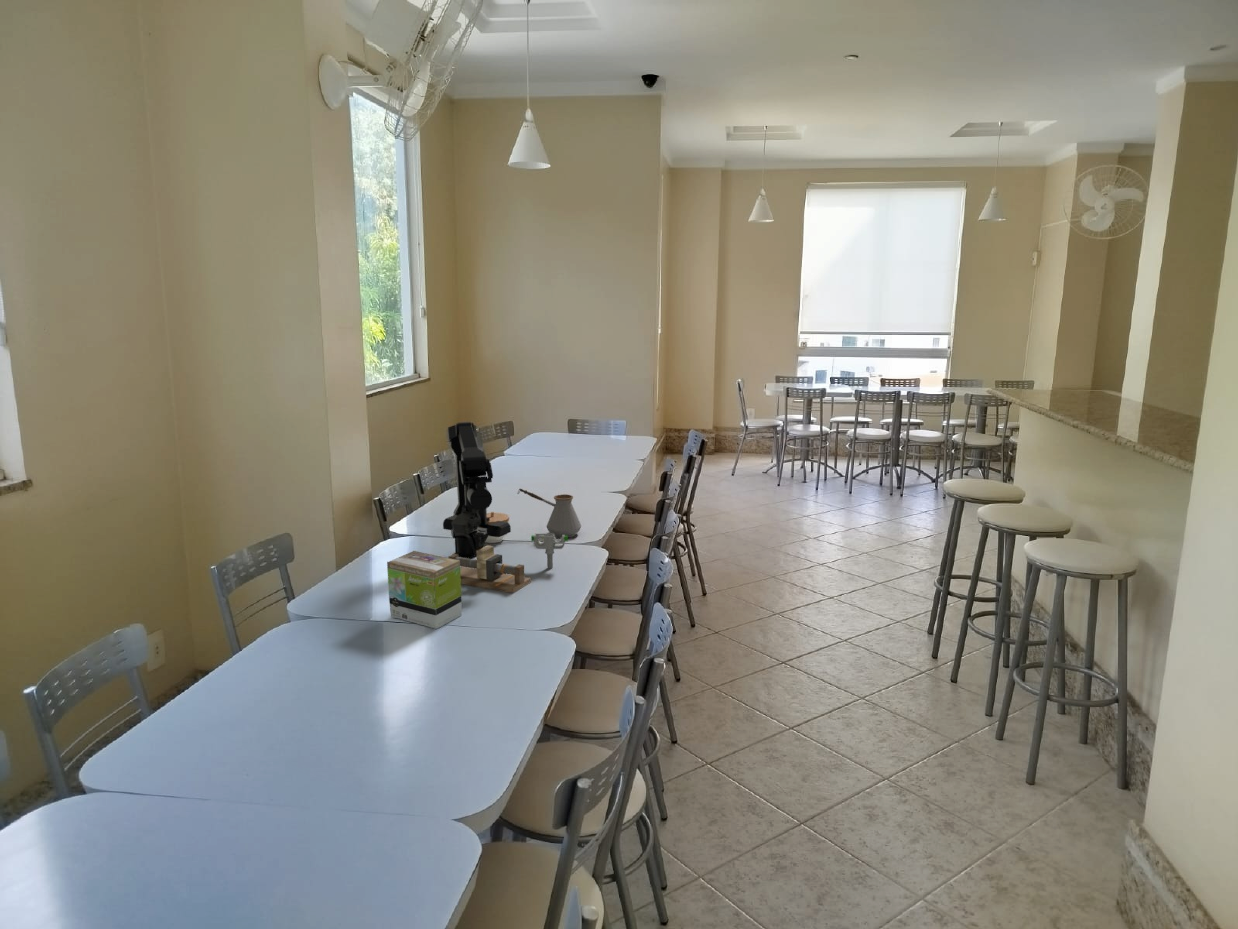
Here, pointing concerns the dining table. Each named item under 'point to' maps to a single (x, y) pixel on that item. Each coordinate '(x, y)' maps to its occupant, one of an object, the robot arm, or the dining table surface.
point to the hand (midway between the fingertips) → (477, 555)
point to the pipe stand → (500, 583)
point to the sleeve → (483, 560)
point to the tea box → (424, 589)
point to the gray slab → (492, 567)
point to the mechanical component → (548, 545)
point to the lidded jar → (494, 518)
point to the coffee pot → (561, 515)
